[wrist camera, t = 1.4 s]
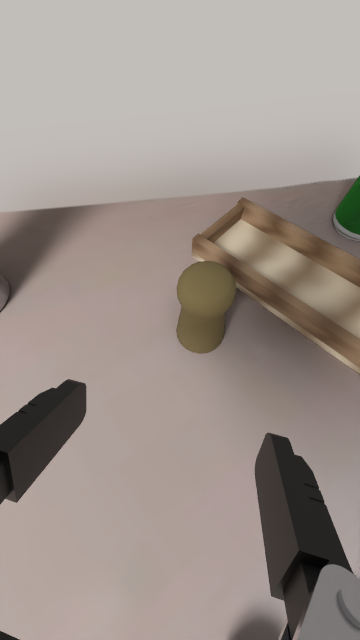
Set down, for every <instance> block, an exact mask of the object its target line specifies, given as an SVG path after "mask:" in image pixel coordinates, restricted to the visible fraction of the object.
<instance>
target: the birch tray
mask: <svg viewBox="0 0 360 640" xmlns="http://www.w3.org/2000/svg"><path fill="white" fill-rule="evenodd" d="M192 257H194V258H195V259H197V260H198V261H200V262H201V261H212V262H216V263H219V264H221V265H223V266H224V267H226V268H227V269H228V270H229V271H230V273H231V274H232V276H233V277H234V280H235V283H236V288H238V289H239V290H241V291H242V292H244V293H245V294H246V295H248V296H249V297H251V298H252V299H253V300H255V301H256V302H258V303H259V304H261V305H262V306H263V307H265V308H266V309H268V310H269V311H270V312H272V313H273V314H275V315H276V316H278V317H279V318H280V319H282V320H283V321H285V322H286V323H288V324H289V325H290V326H292V327H293V328H295V329H296V330H297V331H299V332H300V333H302V334H303V335H305V336H306V337H307V338H309V339H310V340H312V341H313V342H314V343H316V344H317V345H319V346H320V347H322V348H323V349H324V350H326V351H327V352H329V353H330V354H331V355H333V356H334V357H336V358H337V359H339V360H340V361H341V362H343V363H344V364H346V365H347V366H348V367H350V368H351V369H353V370H354V371H356V372H357V373H358V374H360V260H359V259H357V258H356V257H354V256H352V255H350V254H348V253H346V252H344V251H342V250H341V249H339V248H337V247H335V246H333V245H331V244H329V243H327V242H326V241H324V240H322V239H320V238H318V237H316V236H314V235H312V234H311V233H309V232H307V231H305V230H303V229H301V228H299V227H297V226H296V225H294V224H292V223H290V222H288V221H286V220H284V219H282V218H281V217H279V216H277V215H275V214H273V213H271V212H269V211H268V210H266V209H264V208H262V207H260V206H258V205H256V204H254V203H253V202H251V201H249V200H247V199H245V198H242V199H240V200H239V201H238V204H237V205H236V206H235V207H234V208H232V209H231V210H230V211H229V212H228V213H226V214H225V215H224V216H223V217H221V218H220V219H219V220H218V221H216V222H215V223H214V224H213V225H212V226H210V227H209V228H208V229H207V230H205V231H204V232H203V233H202V234H201V235H200V234H197V235H196V236H195V237H194V238H193V241H192Z"/></svg>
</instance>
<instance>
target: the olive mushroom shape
mask: <svg viewBox="0 0 360 640" xmlns="http://www.w3.org/2000/svg"><path fill="white" fill-rule="evenodd" d="M177 295H178V300H179V302H180V304H181V305H182V307H181V312H180V316H179V321H178V325H177V337H178V339H179V341H180V343H181V344H182V345H183V346H184V347H185V348H186V349H188V350H190V351H192V352H195V353H208V352H210V351H212V350H214V349H216V348H217V347H218V346H219V345H220V344H221V342H222V340H223V337H224V325H225V312H226V311H227V310H228V309H229V308H230V307H231V305H232V303H233V301H234V299H235V297H236V283H235V280H234V277H233V276H232V274H231V273H230V271H229V270H228V269H227V268H226V267H224V266H223V265H221V264H219V263H216V262H212V261H201V262H197V263H195V264H192V265H191V266H189V267H188V268H187V269H186V270H184V271H183V273H182V274H181V276H180V277H179V280H178V284H177Z"/></svg>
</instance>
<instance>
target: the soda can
mask: <svg viewBox="0 0 360 640" xmlns="http://www.w3.org/2000/svg"><path fill="white" fill-rule="evenodd" d="M333 222H334V225H335V228H336V230H337V232H339V233H340V234H341V235H342V236H344V237H346V238H348V239H351V240H355V241H360V176H359V177H358V179H357V180H356V182H355V183H354V185H353V186H352V187H351V189H350V190H349V192H348V193H347V195H346V196H345V197H344V199H343V200H342V202H341V203H340V205H339V206H338V208H337V209H336V210H335V212H334V215H333Z"/></svg>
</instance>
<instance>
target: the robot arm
mask: <svg viewBox="0 0 360 640" xmlns="http://www.w3.org/2000/svg"><path fill="white" fill-rule="evenodd" d="M9 292H10V289H9V284H8V282H7V280H6V279H5V278H4V277H3V276H2V275H0V310H1V309H2V308H3V306H4V305H5V303H6V301H7V299H8V297H9ZM85 413H86V385H85V383H81V382H78V381H74V380H70V379H68V380H66V381H64V382H63V383H62V384H61V385H60V386H58V387H57V388H51V389H49V390H47V391H45V392H42V393H40V394H39V395H37V396H36V397H35V398H34V399H32V400H31V401H30V402H28V404H27V405H25V406H23V407H22V408H21V409H20V410H19V411H18V412H16V413H15V414H13V415H12V416H11V417H10V418H8V419H7V420H6V421H5V422H3V423H2V424H1V425H0V504H1V503H2V502H3V501H4V499H8V500H10V501H13V502H16V503H17V502H18V501H19V499H20V498H21V497H22V496H23V494H24V493H25V492H26V491H27V490H28V488H29V487H30V486H31V485H32V483H33V482H34V481H35V480H36V478H37V477H38V476H39V475H40V474H41V472H42V471H43V470H44V469H45V467H46V466H47V465H48V464H49V462H50V461H51V460H52V459H53V457H54V456H55V455H56V454H57V453H58V451H59V450H60V449H61V448H62V446H63V445H64V444H65V443H66V441H67V440H68V439H69V438H70V436H71V435H72V434H73V433H74V432H75V430H76V429H77V428H78V427H79V425H80V424H81V423H82V421H83V419H84V417H85ZM255 479H256V487H257V494H258V502H259V509H260V517H261V524H262V532H263V539H264V546H265V554H266V561H267V569H268V576H269V584H270V591H271V596H272V597H275V598H278V599H281V600H283V601H285V607H286V613H287V619H286V621H285V623H284V626H283V629H282V631H281V634H280V636H279V639H278V640H360V579H358V578H357V577H356V576H355V575H354V574H353V572H352V570H351V567H350V565H349V563H348V560H347V558H346V555H345V553H344V550H343V548H342V545H341V543H340V540H339V537H338V535H337V532H336V530H335V527H334V525H333V522H332V520H331V517H330V515H329V512H328V509H327V507H326V505H325V504H324V499H323V497H322V494H321V492H320V491H319V487H318V484H317V481H316V479H315V476H314V474H313V471H312V470H311V469H310V467H309V466H308V465H307V463H306V462H305V461H304V459H303V458H302V457H301V456H298V455H294V452H293V449H292V446H291V443H290V441H289V439H288V438H286V437H282V436H279V435H275V434H271V433H267V434H266V435H265V438H264V440H263V443H262V446H261V448H260V451H259V453H258V456H257V459H256V463H255ZM0 640H19V639H17V638H15V637H12V636H10V635H8V634H6V633H4V632H1V631H0Z"/></svg>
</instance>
